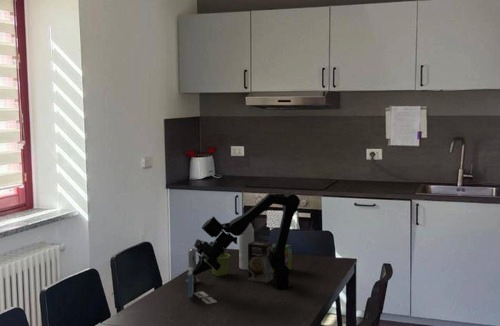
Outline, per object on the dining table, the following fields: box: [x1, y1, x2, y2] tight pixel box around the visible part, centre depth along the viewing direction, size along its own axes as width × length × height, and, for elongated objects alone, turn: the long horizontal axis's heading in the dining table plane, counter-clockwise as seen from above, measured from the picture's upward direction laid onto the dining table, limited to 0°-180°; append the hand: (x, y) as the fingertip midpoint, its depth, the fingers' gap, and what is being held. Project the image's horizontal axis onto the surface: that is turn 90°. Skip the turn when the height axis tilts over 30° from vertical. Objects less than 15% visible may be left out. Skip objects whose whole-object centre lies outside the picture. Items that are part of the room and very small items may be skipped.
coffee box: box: [247, 240, 274, 284], centre depth 268 cm, size 9×6×16 cm
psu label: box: [193, 291, 210, 299], centre depth 249 cm, size 6×4×1 cm, turn 27°
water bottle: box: [238, 222, 255, 271], centre depth 285 cm, size 7×7×25 cm
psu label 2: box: [200, 296, 218, 305], centre depth 242 cm, size 6×4×1 cm, turn 27°
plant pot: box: [211, 252, 231, 277], centre depth 277 cm, size 9×9×9 cm
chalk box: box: [272, 238, 293, 274], centre depth 281 cm, size 9×9×15 cm
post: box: [185, 248, 201, 284], centre depth 267 cm, size 5×5×14 cm
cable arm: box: [187, 266, 195, 298], centre depth 253 cm, size 22×2×9 cm, turn 3°
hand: (193, 274), depth 251 cm, fingers closed
